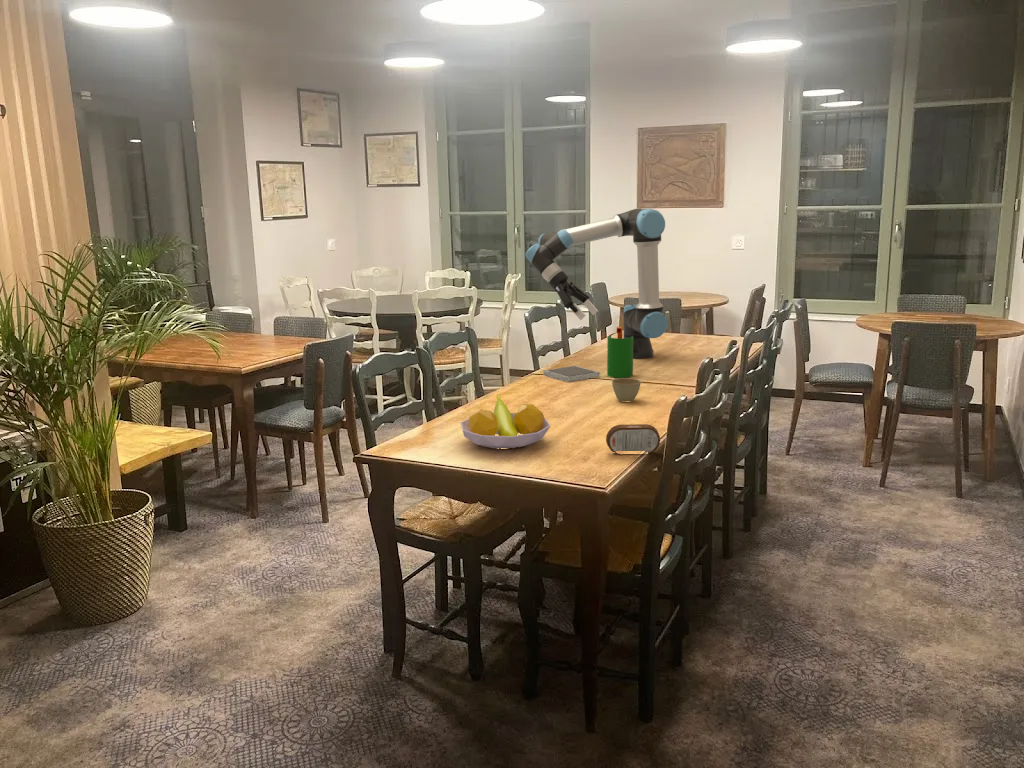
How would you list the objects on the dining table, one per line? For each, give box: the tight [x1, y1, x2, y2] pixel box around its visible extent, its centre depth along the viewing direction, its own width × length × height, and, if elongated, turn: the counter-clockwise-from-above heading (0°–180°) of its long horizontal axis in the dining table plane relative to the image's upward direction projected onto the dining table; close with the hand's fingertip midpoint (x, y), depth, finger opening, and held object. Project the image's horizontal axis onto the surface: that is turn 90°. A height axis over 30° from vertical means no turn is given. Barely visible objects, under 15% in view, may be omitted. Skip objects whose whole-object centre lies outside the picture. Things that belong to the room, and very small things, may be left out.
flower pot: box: [611, 377, 642, 402], centre depth 294 cm, size 10×10×7 cm
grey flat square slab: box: [543, 365, 601, 383], centre depth 335 cm, size 16×16×2 cm
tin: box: [605, 423, 661, 455], centre depth 234 cm, size 15×3×8 cm, turn 92°
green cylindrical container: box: [606, 326, 634, 379], centre depth 333 cm, size 10×9×20 cm
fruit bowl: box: [460, 393, 551, 449], centre depth 247 cm, size 28×27×11 cm
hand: (589, 315), depth 336 cm, fingers open, 13 cm apart
